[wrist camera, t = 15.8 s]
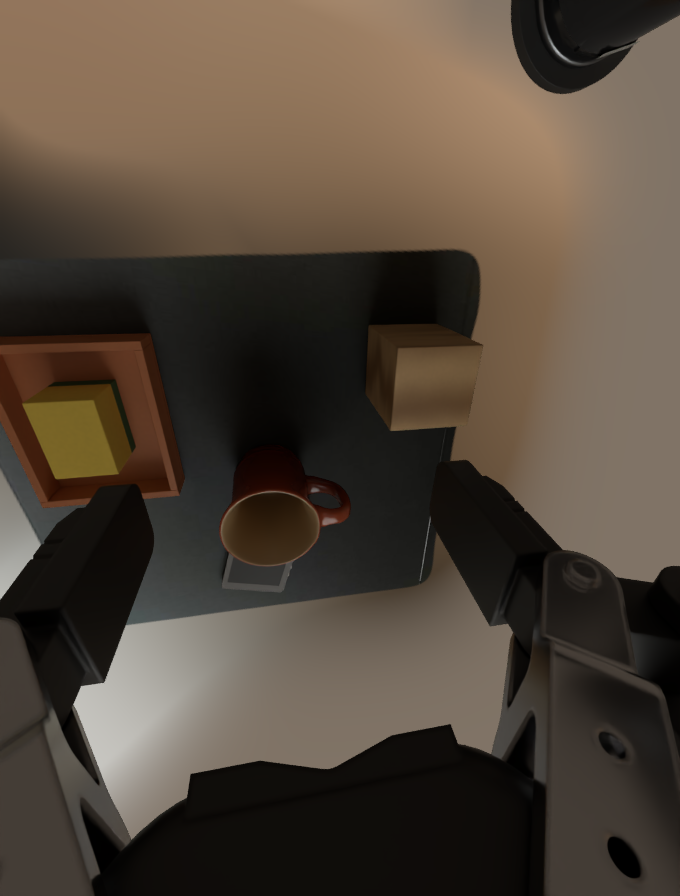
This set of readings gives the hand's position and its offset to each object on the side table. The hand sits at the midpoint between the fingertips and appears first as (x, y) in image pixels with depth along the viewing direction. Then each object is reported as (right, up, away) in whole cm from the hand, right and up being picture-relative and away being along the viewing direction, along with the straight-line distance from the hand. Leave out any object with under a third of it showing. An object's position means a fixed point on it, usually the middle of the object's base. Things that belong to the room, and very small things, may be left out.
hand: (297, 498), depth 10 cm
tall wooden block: (+7, +10, +27) cm, 30 cm away
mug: (-5, -1, +31) cm, 31 cm away
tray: (-22, +4, +25) cm, 33 cm away
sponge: (-21, +4, +24) cm, 32 cm away
